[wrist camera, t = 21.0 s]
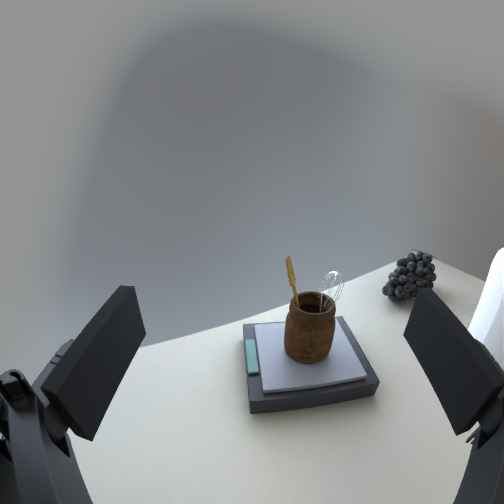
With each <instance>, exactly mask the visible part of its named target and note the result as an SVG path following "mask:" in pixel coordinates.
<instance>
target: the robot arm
mask: <svg viewBox="0 0 504 504" xmlns="http://www.w3.org/2000/svg"><path fill="white" fill-rule="evenodd" d="M145 335H146V332H145V328H144V325H143V321H142V317H141V313H140V309H139V305H138V301H137V296H136V292H135V287H134V286H120V287H119V288H118V289H117V290H116V291H115V292H114V293H113V295H112V296H111V297H110V298H109V299H108V300H107V301H106V303H105V304H104V305H103V306H102V307H101V309H100V310H99V311H98V312H97V313H96V315H95V316H94V317H93V318H92V319H91V321H90V322H89V323H88V324H87V325H86V327H85V328H84V329H83V330H82V332H81V333H80V334H79V335H78V337H77V338H76V339H75V340H72V339H71V340H69V341H68V342H66V343H65V344H64V345H62V346H61V347H60V349H59V350H58V351H57V352H56V354H55V356H53V358H52V359H51V360H50V363H48V364H47V365H46V367H45V368H44V370H43V371H42V372H41V374H40V375H39V376H38V378H37V379H36V380H35V382H34V383H33V385H32V386H30V384H29V383H28V381H27V380H26V378H25V377H24V375H23V374H22V373H21V372H20V371H19V370H16V369H14V370H8V371H6V372H4V373H3V374H2V375H1V376H0V433H2V439H0V504H93V503H92V500H91V498H90V496H89V493H88V491H87V489H86V486H85V483H84V481H83V478H82V476H81V473H80V470H79V467H78V464H77V461H76V458H75V455H74V452H73V448H72V445H71V441H70V438H69V436H68V434H67V433H66V432H67V430H68V428H69V427H70V429H71V430H72V431H73V432H74V433H75V435H77V436H79V437H82V438H84V439H87V440H89V441H93V439H94V437H95V434H96V432H97V430H98V428H99V426H100V424H101V421H102V419H103V417H104V415H105V413H106V411H107V409H108V407H109V405H110V403H111V401H112V399H113V397H114V394H115V392H116V390H117V388H118V386H119V384H120V383H121V381H122V379H123V377H124V375H125V373H126V371H127V369H128V367H129V365H130V363H131V361H132V359H133V357H134V355H135V354H136V352H137V350H138V348H139V346H140V344H141V342H142V341H143V339H144V337H145ZM403 335H404V337H405V339H406V340H407V342H408V344H409V345H410V347H411V349H412V350H413V352H414V354H415V356H416V357H417V359H418V361H419V363H420V365H421V366H422V368H423V370H424V372H425V374H426V375H427V377H428V379H429V381H430V383H431V385H432V387H433V389H434V391H435V393H436V395H437V396H438V398H439V400H440V402H441V404H442V407H443V409H444V411H445V413H446V415H447V417H448V419H449V421H450V423H451V425H452V428H453V430H454V432H455V434H456V436H457V435H459V434H462V433H464V432H466V431H468V430H470V429H471V428H472V427H473V425H474V424H475V423H476V422H477V421H478V422H479V424H480V426H479V427H478V428H477V429H476V430H475V431H474V432H473V433H472V434H471V435H470V437H469V438H468V439H467V441H466V443H468V442H469V441H470V440H471V439H472V438H473V437H474V440H473V441H472V442H471V444H473V445H472V449H471V453H470V457H469V460H468V464H467V467H466V470H465V473H464V476H463V479H462V482H461V485H460V488H459V490H458V493H457V496H456V498H455V501H454V503H453V504H504V371H503V369H502V368H501V366H500V365H499V364H498V362H497V361H495V358H494V357H493V356H492V354H491V355H490V352H489V351H488V349H487V348H486V347H485V345H483V344H482V343H481V342H479V341H478V340H477V339H474V337H473V336H472V335H471V334H470V332H469V331H468V330H467V329H466V328H465V326H464V325H463V324H462V323H461V322H460V321H459V319H458V318H457V317H456V316H455V315H454V314H453V312H452V311H451V310H450V309H449V308H448V307H447V306H446V305H445V303H444V302H443V301H442V300H441V299H440V298H439V297H438V296H437V295H436V294H435V293H434V291H433V290H432V289H431V288H424V289H418V292H417V295H416V298H415V302H414V305H413V308H412V311H411V314H410V317H409V320H408V323H407V326H406V329H405V332H404V334H403Z"/></svg>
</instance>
